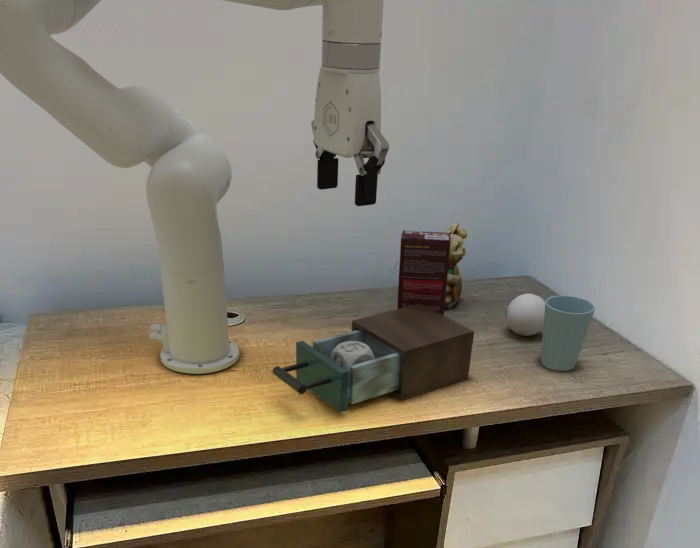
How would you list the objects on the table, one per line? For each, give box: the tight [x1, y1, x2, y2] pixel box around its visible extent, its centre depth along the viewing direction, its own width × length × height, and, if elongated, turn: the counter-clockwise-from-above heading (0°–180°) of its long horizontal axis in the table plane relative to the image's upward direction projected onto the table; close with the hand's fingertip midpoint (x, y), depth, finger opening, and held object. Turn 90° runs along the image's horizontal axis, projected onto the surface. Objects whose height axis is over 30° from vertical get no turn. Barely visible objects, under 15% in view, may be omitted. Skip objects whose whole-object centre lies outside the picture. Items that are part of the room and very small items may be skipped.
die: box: [330, 341, 375, 385], centre depth 110 cm, size 5×5×5 cm
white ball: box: [501, 293, 545, 337], centre depth 131 cm, size 10×7×7 cm
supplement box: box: [396, 229, 451, 316], centre depth 131 cm, size 9×5×16 cm, turn 84°
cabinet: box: [351, 304, 475, 401], centre depth 115 cm, size 14×13×8 cm
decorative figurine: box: [443, 222, 468, 309], centre depth 139 cm, size 10×8×15 cm
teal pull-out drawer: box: [272, 329, 401, 414], centre depth 108 cm, size 18×12×6 cm, turn 125°
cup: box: [540, 295, 596, 372], centre depth 119 cm, size 8×8×10 cm
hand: (345, 196), depth 104 cm, fingers open, 9 cm apart
